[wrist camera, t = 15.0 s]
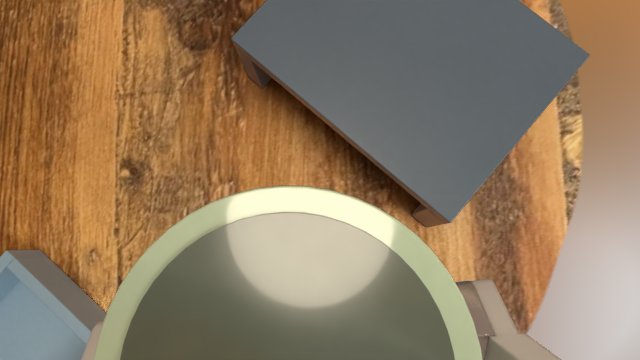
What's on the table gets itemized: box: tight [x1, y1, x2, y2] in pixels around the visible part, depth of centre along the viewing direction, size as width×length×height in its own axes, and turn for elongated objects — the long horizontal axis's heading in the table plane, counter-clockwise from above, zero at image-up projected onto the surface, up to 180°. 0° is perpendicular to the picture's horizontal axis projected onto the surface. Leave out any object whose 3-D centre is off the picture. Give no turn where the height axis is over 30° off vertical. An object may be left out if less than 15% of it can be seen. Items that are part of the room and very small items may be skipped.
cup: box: [94, 185, 482, 360], centre depth 13 cm, size 7×7×10 cm
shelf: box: [231, 0, 589, 227], centre depth 33 cm, size 18×14×7 cm
